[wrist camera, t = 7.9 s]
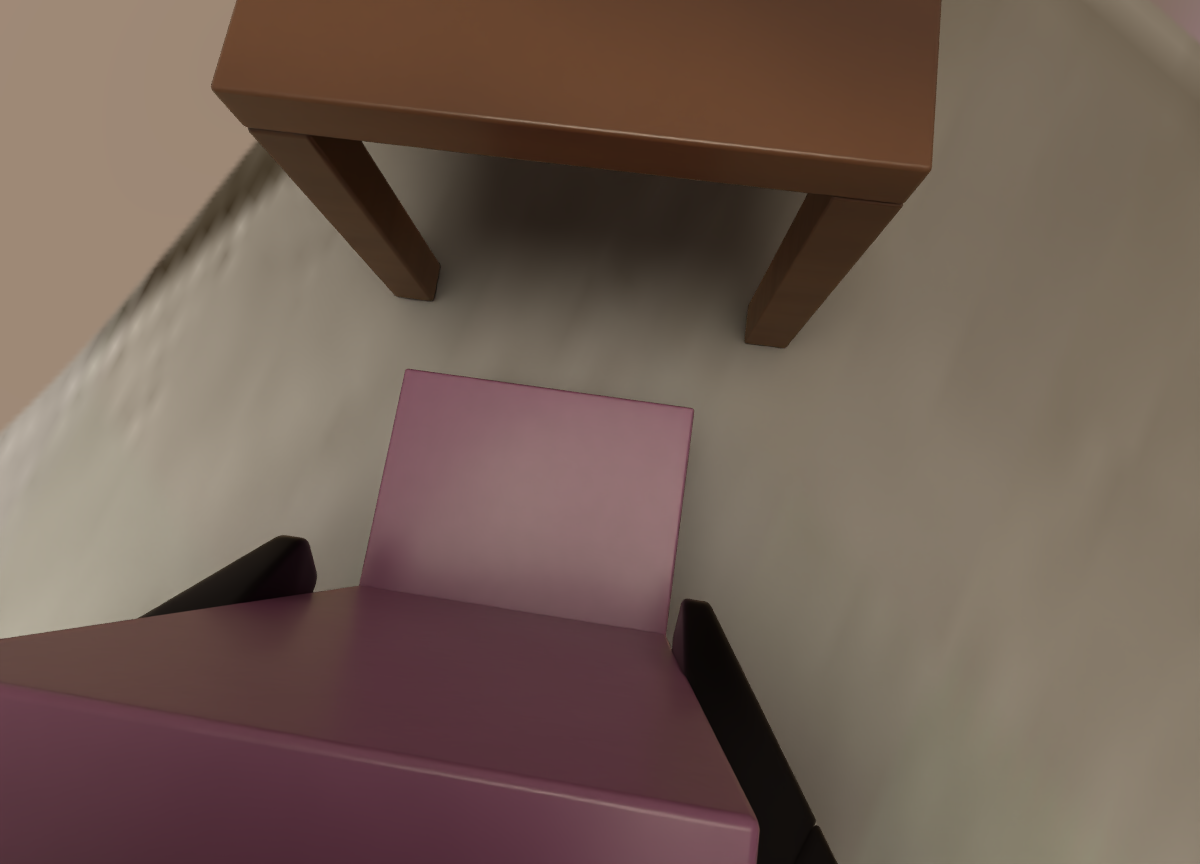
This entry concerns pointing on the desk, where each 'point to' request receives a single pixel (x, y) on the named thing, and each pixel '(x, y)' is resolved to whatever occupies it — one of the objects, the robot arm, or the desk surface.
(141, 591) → the desk surface
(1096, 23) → the desk surface
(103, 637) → the chair
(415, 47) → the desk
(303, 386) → the desk surface
